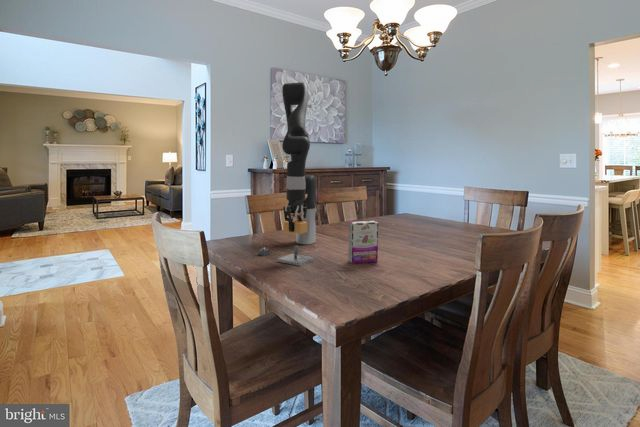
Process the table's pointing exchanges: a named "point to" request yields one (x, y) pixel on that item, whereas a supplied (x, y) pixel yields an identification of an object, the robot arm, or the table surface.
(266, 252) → the grey knob block
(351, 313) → the table surface
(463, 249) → the table surface
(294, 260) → the plate
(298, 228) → the orange link
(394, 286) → the table surface
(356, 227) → the candy bar box
